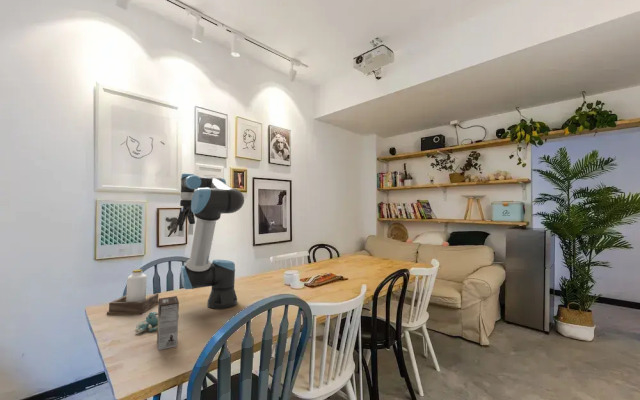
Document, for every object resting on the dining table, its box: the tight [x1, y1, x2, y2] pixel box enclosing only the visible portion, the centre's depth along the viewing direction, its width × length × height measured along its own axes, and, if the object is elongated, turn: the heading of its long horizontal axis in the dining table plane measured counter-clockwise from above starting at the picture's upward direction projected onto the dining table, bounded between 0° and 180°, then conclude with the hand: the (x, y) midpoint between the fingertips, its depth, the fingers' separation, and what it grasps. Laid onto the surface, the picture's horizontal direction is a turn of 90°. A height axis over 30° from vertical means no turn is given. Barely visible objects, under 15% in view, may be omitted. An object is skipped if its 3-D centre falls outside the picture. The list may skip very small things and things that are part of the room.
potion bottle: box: [125, 269, 148, 302], centre depth 143 cm, size 8×8×18 cm
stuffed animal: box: [134, 311, 158, 334], centre depth 119 cm, size 11×7×12 cm
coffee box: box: [156, 295, 180, 351], centre depth 106 cm, size 9×6×16 cm
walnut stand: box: [106, 293, 159, 315], centre depth 142 cm, size 16×16×5 cm
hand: (185, 235), depth 167 cm, fingers open, 13 cm apart
